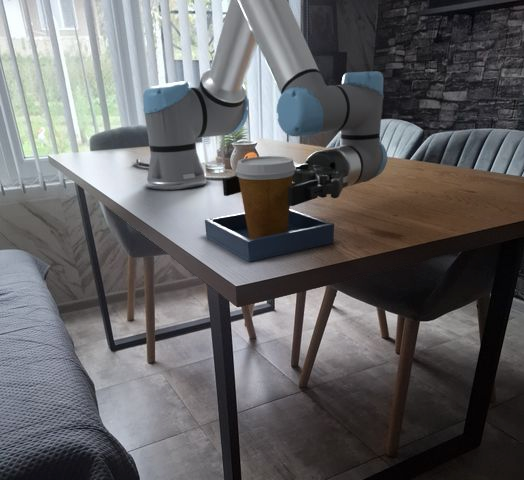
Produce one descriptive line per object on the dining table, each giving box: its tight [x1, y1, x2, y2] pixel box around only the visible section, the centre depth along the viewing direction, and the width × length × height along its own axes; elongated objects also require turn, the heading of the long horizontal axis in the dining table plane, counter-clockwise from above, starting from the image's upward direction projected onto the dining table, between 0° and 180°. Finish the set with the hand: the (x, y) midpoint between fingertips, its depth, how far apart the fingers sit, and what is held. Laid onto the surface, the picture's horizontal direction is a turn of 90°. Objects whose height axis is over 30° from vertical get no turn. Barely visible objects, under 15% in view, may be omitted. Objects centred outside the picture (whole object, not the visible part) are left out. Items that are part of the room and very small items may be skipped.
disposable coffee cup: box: [234, 155, 296, 239], centre depth 78 cm, size 10×10×12 cm
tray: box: [204, 208, 335, 263], centre depth 80 cm, size 16×16×3 cm
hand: (255, 191), depth 75 cm, fingers open, 13 cm apart
